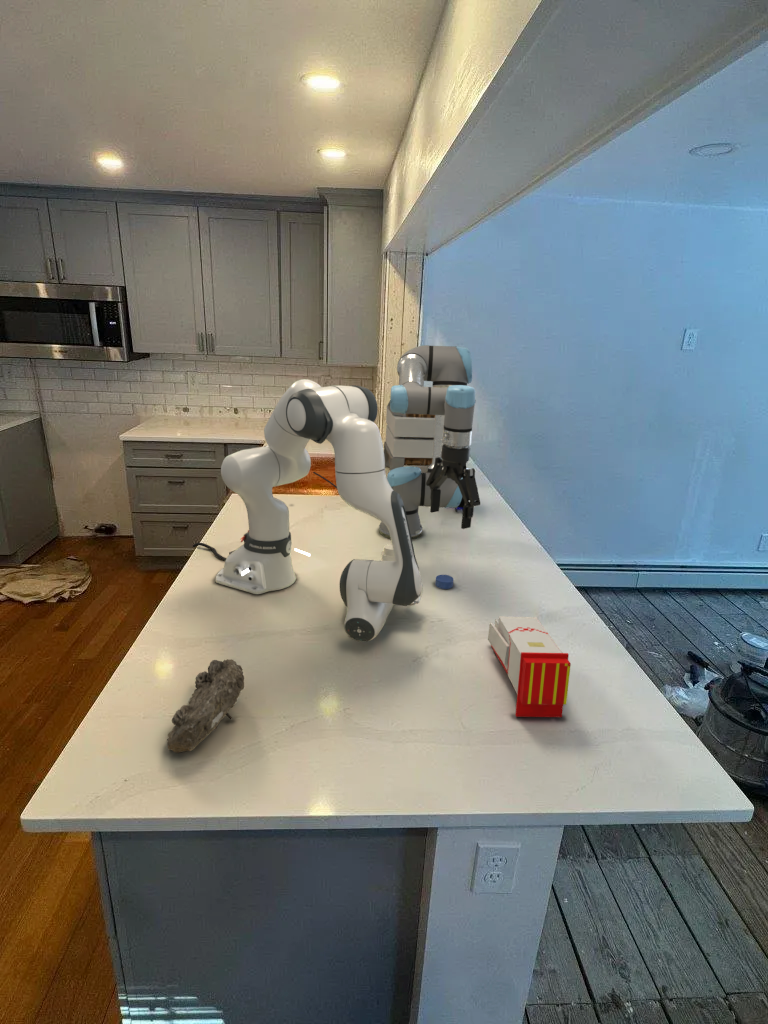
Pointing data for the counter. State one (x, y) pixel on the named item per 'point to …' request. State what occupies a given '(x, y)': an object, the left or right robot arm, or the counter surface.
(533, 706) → the toy
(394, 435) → the grey storage crate
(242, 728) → the counter surface
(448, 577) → the lid
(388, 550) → the cream bottle
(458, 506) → the figurine character
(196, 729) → the fossil
